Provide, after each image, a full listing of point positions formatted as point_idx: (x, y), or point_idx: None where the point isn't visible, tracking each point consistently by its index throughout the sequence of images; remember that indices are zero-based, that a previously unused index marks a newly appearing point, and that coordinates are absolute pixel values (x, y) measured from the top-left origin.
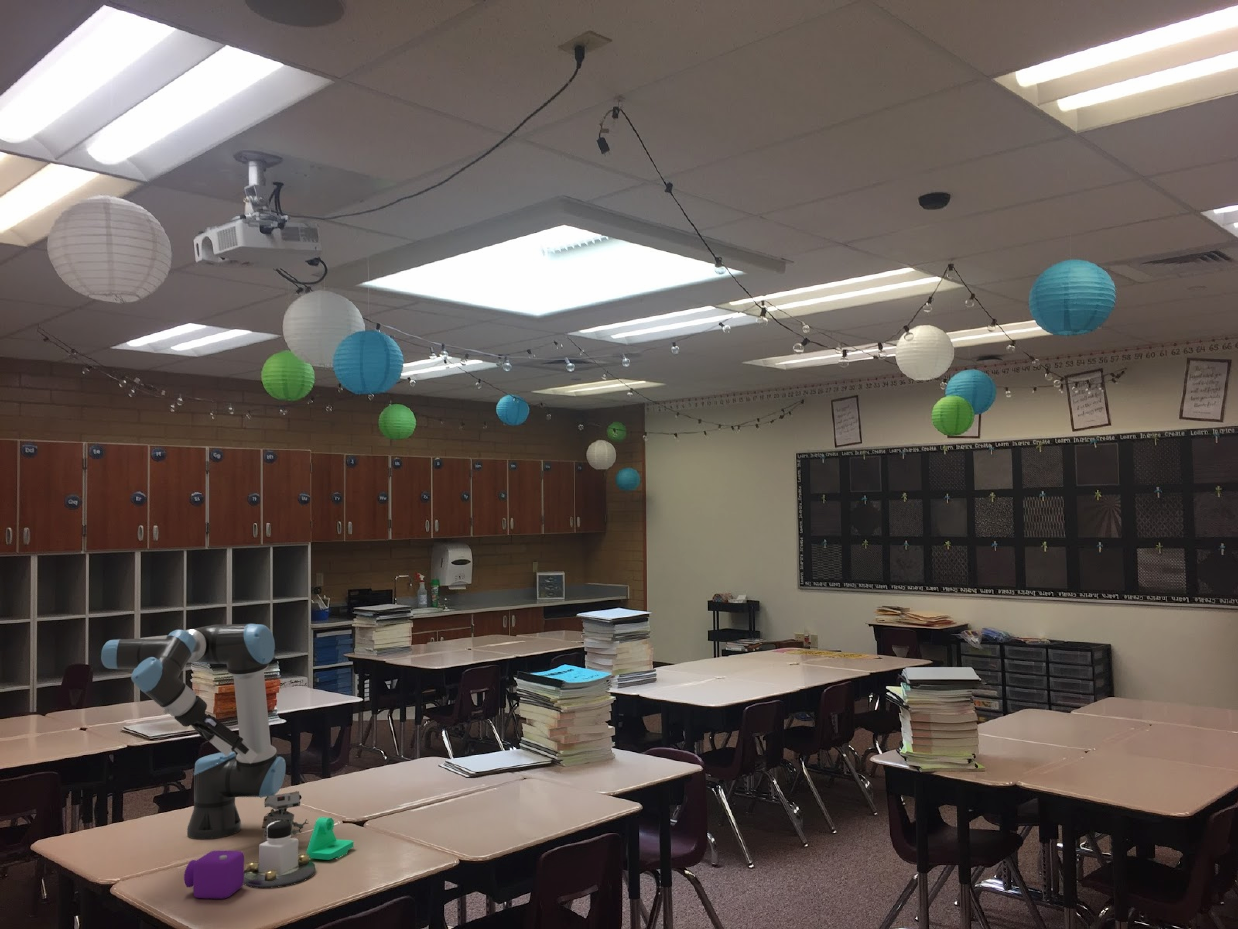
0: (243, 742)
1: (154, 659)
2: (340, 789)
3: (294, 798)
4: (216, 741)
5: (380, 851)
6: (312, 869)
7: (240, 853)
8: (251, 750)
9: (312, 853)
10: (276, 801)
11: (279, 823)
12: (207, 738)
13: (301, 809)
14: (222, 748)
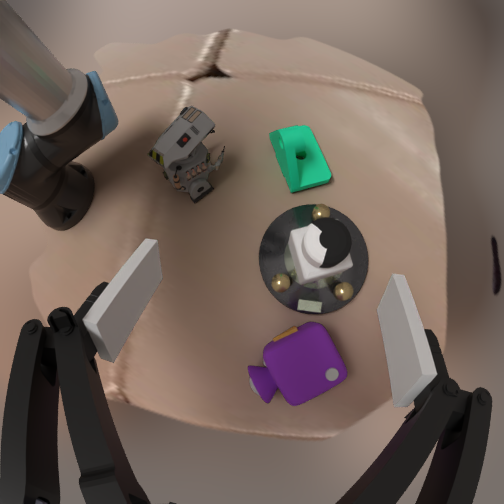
0: (430, 356)
1: None
2: (104, 47)
3: (202, 124)
4: (119, 329)
5: (342, 122)
6: (357, 228)
7: (326, 334)
8: (412, 306)
9: (302, 186)
10: (180, 149)
11: (336, 243)
12: (100, 381)
13: (106, 91)
14: (142, 296)
